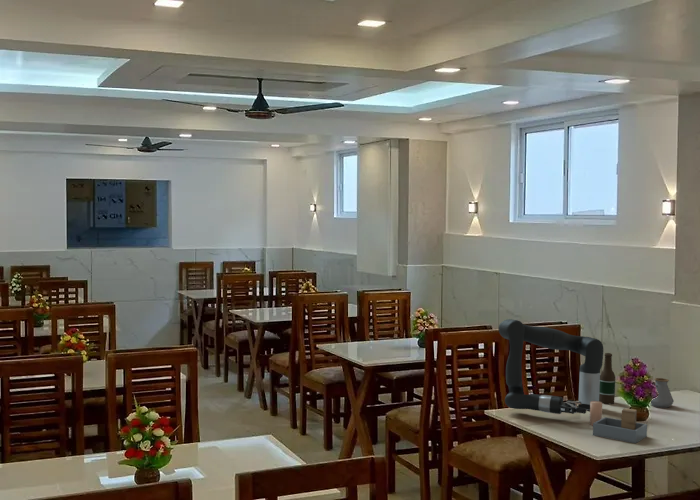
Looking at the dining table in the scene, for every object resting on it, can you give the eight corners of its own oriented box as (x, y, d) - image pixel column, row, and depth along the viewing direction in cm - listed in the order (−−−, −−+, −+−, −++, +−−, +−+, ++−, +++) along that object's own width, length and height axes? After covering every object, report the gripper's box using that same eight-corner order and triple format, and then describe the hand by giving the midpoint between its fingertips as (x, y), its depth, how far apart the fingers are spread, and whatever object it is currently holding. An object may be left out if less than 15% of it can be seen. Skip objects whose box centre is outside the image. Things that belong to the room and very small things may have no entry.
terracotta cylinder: (592, 423, 358) (592, 400, 357) (603, 425, 355) (604, 402, 354) (587, 425, 354) (588, 402, 353) (599, 427, 351) (599, 404, 350)
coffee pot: (660, 402, 401) (661, 371, 401) (678, 407, 391) (680, 376, 390) (627, 405, 392) (628, 374, 391) (645, 411, 382) (646, 379, 381)
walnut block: (622, 432, 339) (623, 408, 339) (635, 433, 337) (636, 409, 336) (620, 434, 335) (621, 410, 334) (633, 436, 332) (634, 412, 332)
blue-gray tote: (604, 428, 349) (605, 417, 348) (646, 436, 338) (647, 424, 338) (592, 435, 338) (593, 423, 337) (635, 443, 327) (636, 431, 327)
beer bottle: (617, 402, 398) (619, 353, 397) (610, 405, 393) (612, 355, 391) (602, 399, 403) (604, 351, 402) (595, 402, 398) (597, 353, 397)
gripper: (547, 398, 356) (585, 403, 349) (555, 392, 369) (591, 397, 362) (546, 416, 357) (584, 421, 349) (554, 409, 369) (591, 414, 362)
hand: (588, 409), depth 355 cm, fingers open, 8 cm apart
